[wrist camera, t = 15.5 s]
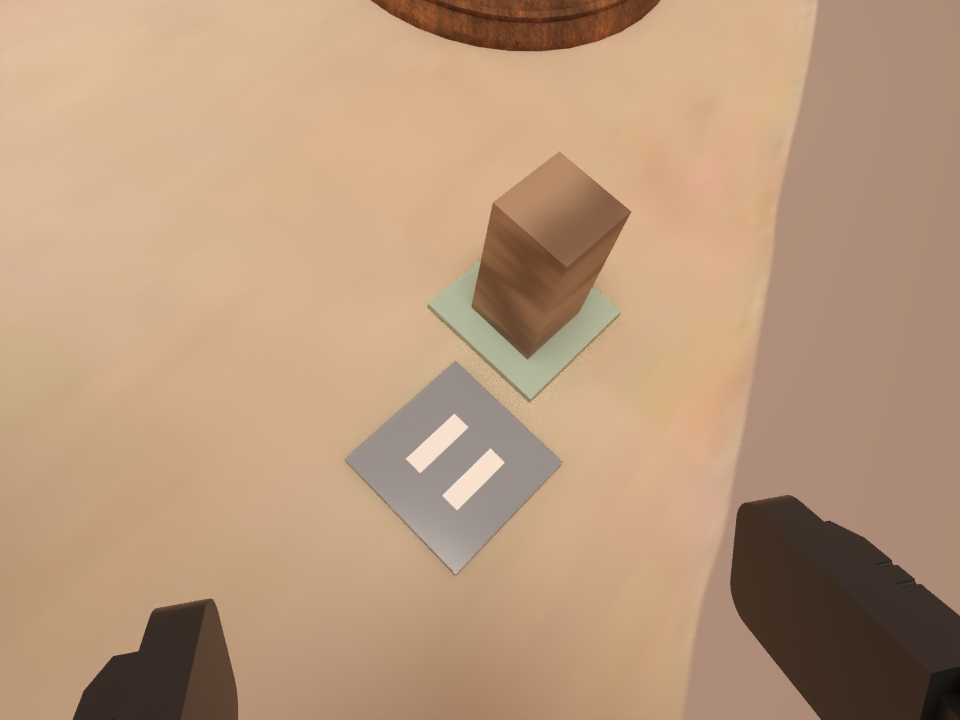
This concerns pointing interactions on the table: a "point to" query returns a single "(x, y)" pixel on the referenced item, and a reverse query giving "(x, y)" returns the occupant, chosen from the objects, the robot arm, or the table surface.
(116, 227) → the table surface
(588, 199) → the walnut block
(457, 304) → the sage mat
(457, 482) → the tile
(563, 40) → the cutting board
